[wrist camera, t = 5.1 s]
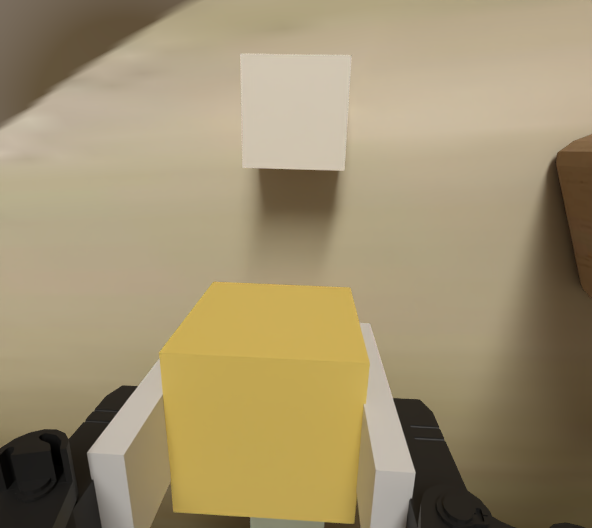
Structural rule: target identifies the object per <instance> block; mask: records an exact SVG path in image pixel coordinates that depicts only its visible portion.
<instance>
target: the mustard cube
mask: <svg viewBox="0 0 592 528" xmlns="http://www.w3.org/2000/svg"><path fill="white" fill-rule="evenodd" d="M159 358H160V369H161V380H162V391H163V402H164V413H165V424H166V435H167V444H168V454H169V464H170V474H171V491H172V502H173V512H180V513H195V514H211V515H226V516H241V517H256V518H272V519H287V520H302V521H317V522H333V523H348V524H354V521H355V511H356V500H357V492H356V488H357V477H358V465H359V453H360V441H361V430H362V418H363V406H364V404H366V398H367V388H368V378H369V368H370V361H369V358H368V354H367V350H366V346H365V342H364V338H363V335H362V331H361V327H360V323H359V319H358V316H357V312H356V308H355V304H354V300H353V297H352V293H351V289H350V288H346V287H323V286H299V285H275V284H252V283H228V282H213V283H212V284H211V286H210V287H209V288H208V290H207V291H206V292H205V293H204V295H203V296H202V297H201V299H200V300H199V301H198V303H197V304H196V305H195V306H194V308H193V309H192V310H191V312H190V313H189V314H188V316H187V317H186V318H185V319H184V321H183V322H182V323H181V325H180V326H179V327H178V329H177V330H176V331H175V332H174V334H173V335H172V336H171V338H170V339H169V340H168V342H167V343H166V344H165V345H164V347H163V348H162V349H161V351H160V352H159Z"/></svg>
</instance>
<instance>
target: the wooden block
mask: <svg viewBox="0 0 592 528" xmlns="http://www.w3.org/2000/svg"><path fill="white" fill-rule="evenodd" d="M556 166H557V171H558V176H559V181H560V186H561V191H562V195H563V200H564V205H565V210H566V215H567V220H568V225H569V230H570V234H571V239H572V244H573V249H574V254H575V259H576V264H577V269H578V273H579V278H580V283H581V286H582V288H583V290H584V291H585V292H586V293H587V294H588V296H589V297H590V298H592V134H591V135H589V136H586V137H583V138H581V139H578V140H575V141H573V142H572V143H570V144H569V145H568V146H566V147H565V148H563V149H562V150H561V151H559V152H558V153H557V159H556Z"/></svg>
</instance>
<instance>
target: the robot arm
mask: <svg viewBox="0 0 592 528" xmlns="http://www.w3.org/2000/svg"><path fill="white" fill-rule="evenodd" d="M360 327H361V331H362V335H363V338H364V342H365V346H366V350H367V354H368V358H369V361H370V368H369V378H368V388H367V398H366V404H364V406H363V418H362V430H361V441H360V453H359V465H358V477H357V488H356V492H357V501H358V510H359V518H360V527H361V528H515V527H512V526H510V525H507V524H505V523H503V522H501V521H499V520H497V519H496V518H494V517H492V515H491V513H490V511H489V510H488V509H487V507H486V506H485V505H484V504H483V503H482V501H481V500H480V499H478V498H477V497H476V496H474V495H473V494H471V493H470V492H469V491H467V489H466V487H465V484H464V482H463V480H462V478H461V475H460V473H459V471H458V469H457V466H456V464H455V462H454V460H453V457H452V455H451V453H450V451H449V448H448V446H447V444H446V442H444V437H443V435H442V433H441V430H440V429H439V426H438V423H437V421H436V419H435V417H434V414H433V412H432V411H431V410H430V409H429V408H428V407H427V406H426V405H425V404H424V403H423V402H422V401H421V400H418V399H398V398H393V397H392V394H391V391H390V388H389V384H388V381H387V378H386V374H385V371H384V368H383V365H382V361H381V358H380V355H379V352H378V348H377V345H376V342H375V338H374V335H373V332H372V329H371V325H370V323H360ZM170 482H171V474H170V464H169V454H168V444H167V435H166V424H165V413H164V402H163V391H162V380H161V369H160V358H159V360H158V361H157V362H156V364H155V365H154V366H153V367H152V369H151V370H150V371H149V373H148V374H147V375H146V377H145V378H144V379H143V380H142V382H141V383H140V384H139V386H121V387H119V388H118V389H116V390H115V391H113V392H112V393H110V394H109V395H107V396H106V397H105V398H104V399H103V400H102V402H101V403H100V404H99V405H98V406H97V407H96V408H95V411H94V412H92V413H91V414H90V415H89V416H88V418H87V419H86V421H85V423H84V422H83V423H82V425H81V426H80V427H79V428H78V429H77V430H76V431H75V433H74V434H73V435H72V436H71V437H70V438H69V439H68V438H67V436H66V434H65V433H64V432H61V431H59V430H51V429H44V430H39V431H35V432H30V433H28V434H25V435H23V436H20V437H18V438H16V439H14V440H12V441H11V442H9V443H8V444H6V445H4V446H3V447H1V448H0V528H150V526H151V524H152V522H153V520H154V517H155V515H156V513H157V511H158V508H159V506H160V504H161V502H162V499H163V497H164V495H165V493H166V490H167V488H168V486H169V484H170ZM550 528H584V527H582V526H578V525H574V524H570V523H559V524H553V525H552V526H551V527H550Z"/></svg>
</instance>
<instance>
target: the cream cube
mask: <svg viewBox="0 0 592 528" xmlns="http://www.w3.org/2000/svg"><path fill="white" fill-rule="evenodd" d="M351 57H352V55H304V54H240V61H241V116H242V168H268V169H303V170H338V171H345V155H346V138H347V122H348V106H349V89H350V73H351Z"/></svg>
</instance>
